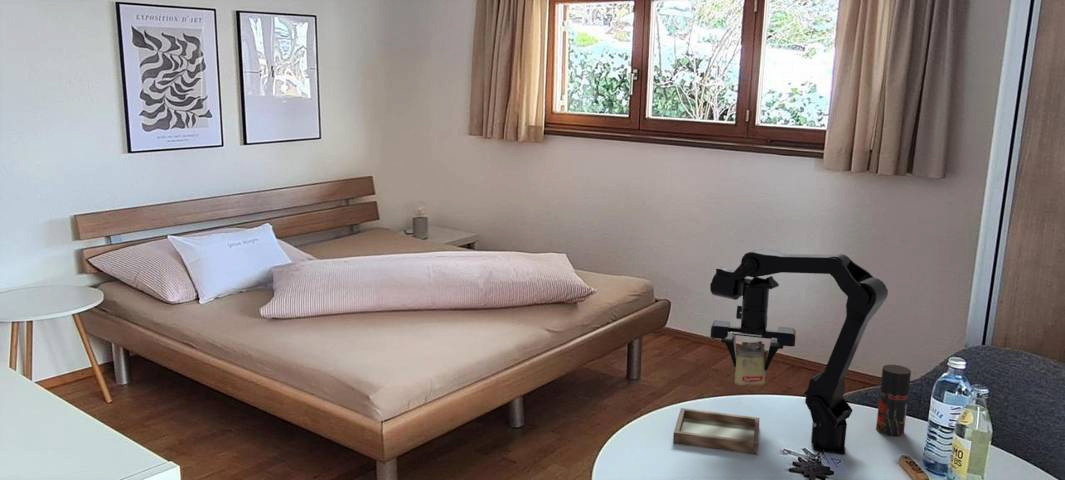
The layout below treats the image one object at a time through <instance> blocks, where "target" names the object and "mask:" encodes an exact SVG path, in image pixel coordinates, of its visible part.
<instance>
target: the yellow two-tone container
mask: <svg viewBox="0 0 1065 480" xmlns="http://www.w3.org/2000/svg"><path fill="white" fill-rule="evenodd" d="M736 356H737V357H736V367H735V371H734V373H735V375H734V384H736V385H738V386H762V385H765V384H766V379H765V378H766V371H765V365H766V359H767V350H766V349H765V344H764V343H763V341H762V340H759V341H757V342H747V341H745V342H744V341H743V342H741V348H738V349H736Z"/></svg>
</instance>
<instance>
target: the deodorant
mask: <svg viewBox="0 0 1065 480" xmlns="http://www.w3.org/2000/svg"><path fill="white" fill-rule="evenodd" d="M911 373H912V370H911V369H910V368H908V367H906V366H903V365H898V364H885V365H883V366H882V369H881V380H880V389H879V399H878V408H877V415H876V416H877V418H876V428H875V430H876V431H877V432H878V433H880V434H881V435H883V436H884V435H885V436H888V437H894V438H895V437H896V438H897V437H902V436H904V434H905V427H906V426H905V425H906V416H907V408H908V401H909V392H910V384H911V382H910V381H911Z"/></svg>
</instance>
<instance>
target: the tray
mask: <svg viewBox="0 0 1065 480" xmlns="http://www.w3.org/2000/svg"><path fill="white" fill-rule="evenodd" d="M760 419H761V418H760V417H756V416H748V415H739V414H733V413H725V412H717V411H716V412H715V411H709V410H708V411H707V410H701V409H700V410H699V409H694V408H693V409H692V408H685V407H680V410H679V413H678V417H677V419H676V423H675V427H674V430H673V437H672V438H673V439H672V444H674V445H675V444H676V445H683V446H690V447H697V448H704V449H712V450H719V451H725V452H727V451H728V452H734V453H741V454H748V455H754V456H755V455H756V456H757V455H758V452H759V451H758V450H759V437H760V434H759V433H760Z"/></svg>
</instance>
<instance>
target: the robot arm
mask: <svg viewBox="0 0 1065 480" xmlns="http://www.w3.org/2000/svg"><path fill="white" fill-rule="evenodd" d="M740 260H741V261H740V264H739V265H738V266H737V268H736V269H735V270H734V269H728V268H727V267H723V266H720V267H717V268H716V269H715V274H714V275H713V277H712V280H711V282H710V284H709V286H710V289H709V290H710V293H711V295H712V296H716V297H720V298H726V299H730V300H734V301H735V300H736V301H737V300H738V299H740V297H742V301H741V302H742V303H741V305H737V307H736V315H735V318H736V319H737V320H740V326H731V321H727V320H714V321H713V322H712V324H711V327H710V335H709V336H710V338H712V339H718V340H720V342H721V343H724V344H725V346H726V348H727V350H728V352H729V355H730V357H731V362H732V364H733V367H734V368H736V357H737V343H736V340H737V339H736V338H737V337H736V336H741V337H742V336H743V337H751V338H760V339H768V340H769V339H770V342H769V347H768V351H767V354H766V365H765V372H766V371H767V372H768V370H769V368H770V364H771V362H772V361H773V358H774V357H775V355H776V353H777V352H778V351H779V350H783V349H784V347H795V346H796V338H797V337H796V336H797V335H796V334H797V331H796V330H795V328H793V327H785V326H783V327H782V326H778V328H777V330H770V329H767V328H768V319H769V318H768V317H769V316H768V310H769V296H770V295H769V293H770V290H772V289H775V288H777V287H779V285H780V284H779V283H778V281H776V279H774V276H771V275H774V274H780V273H786V274H787V273H788V274H789V273H790V274H819V275H821V274H822V275H824V274H825V275H830V276H832V278H833V279H834V281H835V282H836V284H837V286H838V287H839V289H840V290H841V291H842V292H843V293H844V294H845V295H846V296H847V299H846V304H845V313H846V314H845V315H846V316H845V320H844V322H843V324H842V327H841V329H840V332H839V334H838V337H837V339H836V341H835V344H834V346H833V349H832V352H831V353H830V356H829V358H828V361H827V364H826V366H825V368H824V371H821V372H819V373H818V374H815V375H814V376H812V377H811V378H810V379H809V381H808V387H807V389H806V391H805V392H804V393H803V395H804V396H805V400H804V402H805V403H804V404H805V405H806V406H807V408H808V410H809V412H810V416H811V419H812V422H811V423H812V425H811V426H812V427H811V435H810V440H811V442H810V443H811V445H812V446H813V450H814V451H819V452H826V453H835V454H841V455H845V454H846V448H845V446H846V435H847V428H848V427H847V425H848V424H847V419H849V418H850V416H851V415H852V413H853V409H852V407H851V406H850V405H849V403H848V402H847V400H846V399H845V398H844V395H845V389H846V381H845V379H846V375H847V373H848V370H849V368H850V367H851V363H852V361H853V359H854V356H855V354H856V351H857V350H858V348H859V347H858V346H859V345H860V342H861V340H862V338H863V335H864V333H865V330H866V328H867V326H868V323H869V322H870V320H872V318H874V316H875V314H876V313H877V312H878V311H879V309H881V306H882V305H883V303H884V302H885V301H886V299H887V297H888V294H889V292H888V290H889V289H888V288H887V286H886V284H885V282H883V281H882V280H880V279H879V278H876V277H875V276H873V275H872V274H871V273H870V272H869V271H868V270H867V269H865V268H863V267H862V266H861V265H858V264H857V263H855V262H854V261H853V260H852V259H851V257H848V255H846V254H845V253H844V254H843V253H839V254H800V253H799V254H798V253H797V254H795V253H794V254H791V253H789V254H788V253H783V252H781V251H778V250H776V249H775V250H774V249H769V248H766V247H765V248H764V247H763V248H758V249H754V250H752V251H749V252H747V253H745V254H744V255H743V256H742V258H741V259H740ZM769 275H770V276H769ZM764 276H765V277H766V276H767V277H766V278H764ZM747 277H750V278H747Z"/></svg>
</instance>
